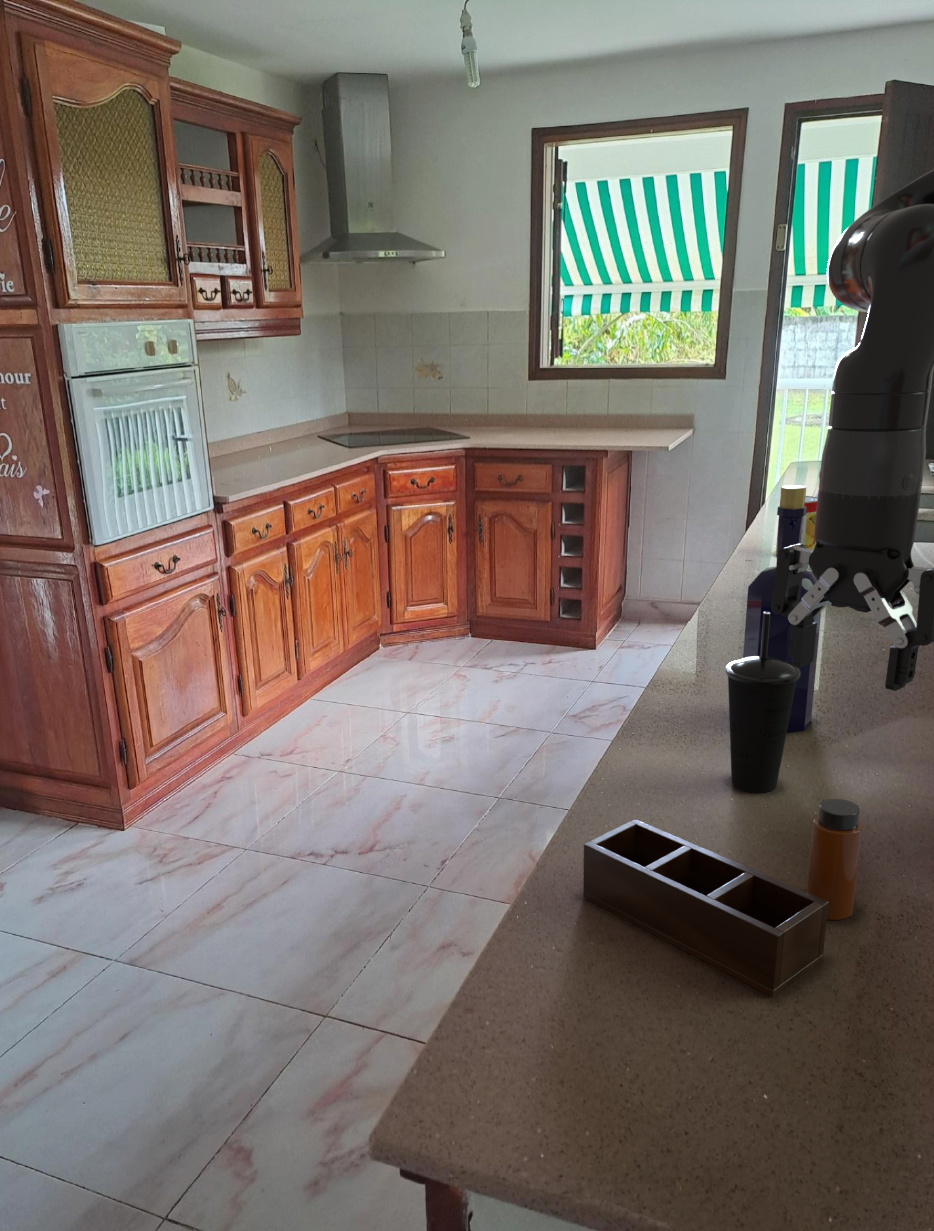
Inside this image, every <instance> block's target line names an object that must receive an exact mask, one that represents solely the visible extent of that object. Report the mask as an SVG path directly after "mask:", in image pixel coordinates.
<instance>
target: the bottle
mask: <svg viewBox="0 0 934 1231" xmlns="http://www.w3.org/2000/svg"><path fill="white" fill-rule="evenodd" d="M806 496H807V486H806V485H802V484H801V485H799V484H787V485H782V486H781V487H780V498H779V505H778V506H777V511H776V515H777V516H778V520H779V527H778V526H777V532H778V546H777V555H776V561H777V560H778V553H779V551H780V550H781V549H782V548H786V547H788V546H792V545H797V544H801V536H802V527H803V518H804V516H805V515H806V509H807V507H806V506H804V504H805V497H806ZM775 565H776V566H771V567H766V568H765V569H763V570H761V572H760V573H759V574H758V575H757V576H756V577H755V578H754V580H753V581H752V582H751V583H750V584H749V585H748V587H747V598H746V612H745V628H744V639H743V640H744V641H743V652H742V659H743V658H747V657H752V656H760V654H761V641H762V628H763V615H764V612H770V625H769V637H768V650H767V656H769V657H774V658H778V659H781V660H783V661H785V662H787V663H790V664H792V660H793V659H792V658H790V656H789V642H790V632H791V623H790V622H789V620H788V618H786V617H785V616H783V615H781V614H775V613H773V612H772V610H771V602H772V595H773V588H774V581H775V574H776V567H777V563H776V564H775ZM816 582H817V580H816V578H815V576H814V574H813V572H812V570H809V569H807V570H806V571H804V573H803V579H802V586H801V592H800V599H799V602H801V598H802V597H803V596H804V595H805V594H806V593H807V592H808V591H809V590H810V588H811V587H812V586H813V585H814V584H815V583H816ZM821 618H822V611H821V612H820V613H819V614H818V615H817V616H816V617H815V618H814V619H813V622H815V623H817V630H816V639H815V649H814V658H813V661H812V663H811V664H809V665H806V666H804V667H798V666H796V667H798V668H799V670H800V677H799V679H798V680H797V681H796V687H795V692H794V697H793V702H792V708H791V713H790V718H789V723H788V729H787V734H788V733H796V732H797V733H798V732H805V731H807V729H808V727H809V726H810V725H811V724H812V722H813V720H812V715H813V704H814V693H815V683H816V674H817V673H816V671H817V661H818V650H819V640H820V630H821V626H820V625H821V621H822V620H821Z"/></svg>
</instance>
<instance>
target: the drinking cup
mask: <svg viewBox="0 0 934 1231" xmlns="http://www.w3.org/2000/svg"><path fill="white" fill-rule="evenodd" d="M769 625H770V612H764V615H763V628H762V641H761V654H760V656H752V657H747V658H743V657H742V658H741V659H737V660H733V661H731V662H729V663H728V664H727V665H726V666H725V669H724V670H725V674H726V676H727V687H728V688H727V689H728V712H729V713H728V714H729V715H728V716H729V720H728V721H729V740H730V741H729V742H730V743H729V744H730V746H729V747H730V749H729V750H730V774H731V776H730V779H731V784H732V786H734V788H735V789H738V790H740V791H743V792H747V793H753V794H755V793H756V794H764V793H769V792H772V791H774V790H775V789H776V788H777V787H778V786H777V785H778V780H779V774H780V770H781V765H782V759H783V755H784V749H785V744H786V739H787V734H788V733H787V729H788V723H789V718H790V713H791V708H792V702H793V697H794V692H795V687H796V681H797V680H798V679H799V677H800V670H799V668H798V667H796V666H794V665H793V664H790V663H787V662H785V661H783V660H781V659H778V658H774V657H769V656H767V650H768V637H769Z"/></svg>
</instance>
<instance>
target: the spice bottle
mask: <svg viewBox="0 0 934 1231" xmlns="http://www.w3.org/2000/svg"><path fill="white" fill-rule="evenodd" d="M818 806H819V807H818V814H816V815H814V816H813V818H812V824H811V836H810V843H809V844H810V845H809V854H808V855H809V856H808V866H807V873H806V874H807V876H806V884H805V892H807V893H809V894H812V895H814V896H816V897H819V898H821V899H824V900H826V901H828V902H829V905H828V914H827V920H832V921H840V920H845V919H848V918H850V917H851V916H852V915H853V914H854V908H855V899H856V891H857V884H858V883H857V882H858V875H859V866H860V858H861V850H862V843H863V842H862V841H863V832H864V823H863V822H862V821H861V819H860V814H861V807H860V806H859V805H858V804H856V803H855V802H853V801H850V800H848V799H841V798H827V799H824V800H822V801H821V802H820V803H819V805H818Z"/></svg>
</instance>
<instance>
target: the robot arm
mask: <svg viewBox="0 0 934 1231" xmlns="http://www.w3.org/2000/svg"><path fill="white" fill-rule="evenodd" d="M827 262H828V263H827V268H826V270H827V271H826V276H827V278H826V279H827V283H828V287H829V290H830V291H831V293H832V295H833V297H834V298H835V299H836V300H837V301H838V302H839V303H840V304H842V305H843V306H844V307H847V308H849V309H851V310H855V311H857V312H864V313H868V314H867V317H866V321H865V323H864V328H863V332H862V335H861V338H860V342H859V343H858V345H857V346H856V347H854V348H852V349H849V350H848V351H846V352H845V353H843V354H842V355H841V357H839V359H838V360H837V362H836V365H835V369H834V374H833V380H832V386H831V396H830V405H829V416H828V417H829V418H828V427H827V433H826V437H825V441H824V444H823V445H824V446H823V449H822V454H821V460H820V461H821V462H820V469H819V474H818V479H819V481H818V491H817V498H818V500H817V510H816V520H815V530H814V538H815V540H816V545H815V548H814V550H810V549H806V546H805V545H803V544H797V545H792V546H788V547H786V548H782V549H781V550H780V551H779V553H778V560H777V559H776V564H777V567H776V574H775V581H774V588H773V595H772V602H771V610H772V612H773V613H775V614H781V615H783V616H785V617H786V618H788V620H789V622H790V623H791V632H790V642H789V656H790V658H792V659H793V660H792V664H793V665H794V666H798V667H804V666H806V665H809V664H811V663H812V661H813V658H814V649H815V639H816V630H817V623H815V622H813V619H814V618H815V617H816V616H817V615H818V614H819V613H820V612H821V613H822V611H823V610H824V609H825V608H826V607H827V606H828V605H831V607H836V608H851V609H853V610H855V611H856V612H860V613H870V612H871V613H872V614H873V617H874V618H875V620H876V623H878V624H879V625H880V626H882V627H883V628H884V630H885V631H886V633H887V635H888V637H889V638H890V640H891V642H892V644H893V645H892V646H890V647H889V654H888V659H887V660H888V661H887V669H886V677H885V683H884V687H885V689H886V690H889V691H893V692H896V691H899V690H901V689H903V688H906V686H907V684H909V683H912V681H913V679H914V678H915V674H916V668H917V667H916V666H917V661H918V653H919V648H920V646H923V647H924V646H925V647H926V646H929V645H931V644H933V643H934V567H925V566H924V567H923V566H917V565H916V566H915V565H914V562H913V560H912V550H913V546H914V544H915V543H914V542H915V539H916V531H917V525H918V516H919V511H920V502H921V495H922V487H923V480H924V474H925V473H924V472H925V467H926V456H927V443H926V441H927V440H926V439H927V438H926V436H927V435H926V434H927V423H928V417H929V409H930V401H931V394H932V385H933V374H934V168H933V169H932V170H930V171H928V172H926V173H924V174H922V175H921V176H919V177H917V178H916V179H914V180H913V181H911V182H910V183H908V184H905V186H903V187H902V188H900V189H898V190H897V191H895V192H893V193H892V194H890V195H889V196H887V197H886V198H885V199H883V200H881V201H880V202H878V203H877V204H875V205H874V206H872V207H871V208H869V209H868V210H866V211H865V212H864V213H862V214H861V215H860V216H859V217H857V218H856V220H854V221H853V222H852V223H851V224H849V226H848V227H847V228H846V229H845V230H844V231H843V233H842V234H841V235H840V237H839V238H838V239H837V240H836V243H835V244H834V246H833V248H832V250H831V253H830V255H829V259H828V261H827ZM808 568H810V571H812V572H813V574H814V576H815V578H816V580H817V582H816V583H815V584H814V585H813V586H812V587H811V588H810V590H809V591H808V592H807V593H806V594H805V595H804V596H803V597H802V598H801V602H799V599H800V592H801V586H802V579H803V573H804V571H806V570H809V569H808ZM910 582H911V583H912V584H913V586H914V587H913V591H914V592H915V594H916V595H918V604H917V617H916V618H917V619H916V618H915V616H914V613H913V612H914V608H913V606H912V604H911V602H910V600H909V598H908V596H907V595H906V593H905V592H904V590H903V589H904V588H905V587H906V586H908V584H909V583H910ZM889 604H890V605H889Z"/></svg>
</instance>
